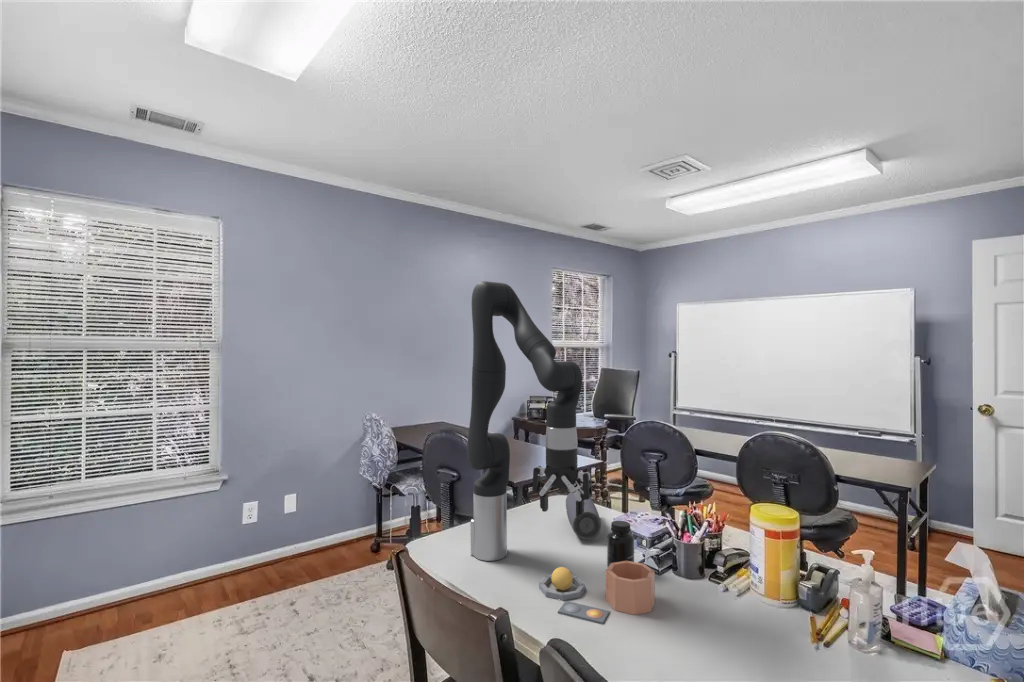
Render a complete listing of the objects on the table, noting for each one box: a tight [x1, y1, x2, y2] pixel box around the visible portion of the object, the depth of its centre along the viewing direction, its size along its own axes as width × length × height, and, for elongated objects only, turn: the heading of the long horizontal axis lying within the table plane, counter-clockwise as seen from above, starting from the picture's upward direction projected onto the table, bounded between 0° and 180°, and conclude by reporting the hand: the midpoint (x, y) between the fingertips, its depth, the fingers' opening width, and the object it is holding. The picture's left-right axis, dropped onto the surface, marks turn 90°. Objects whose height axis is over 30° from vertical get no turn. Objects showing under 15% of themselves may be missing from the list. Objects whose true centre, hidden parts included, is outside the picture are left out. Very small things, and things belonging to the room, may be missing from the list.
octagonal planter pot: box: [605, 561, 656, 616], centre depth 114 cm, size 10×10×7 cm
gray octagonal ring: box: [538, 574, 586, 601], centre depth 120 cm, size 10×10×1 cm
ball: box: [551, 566, 573, 591], centre depth 120 cm, size 5×5×5 cm
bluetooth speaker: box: [565, 489, 602, 540], centre depth 159 cm, size 23×9×10 cm, turn 179°
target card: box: [557, 600, 610, 625], centre depth 109 cm, size 10×5×1 cm, turn 64°
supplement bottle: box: [606, 520, 635, 569], centre depth 130 cm, size 7×7×12 cm
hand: (561, 513), depth 120 cm, fingers open, 8 cm apart
